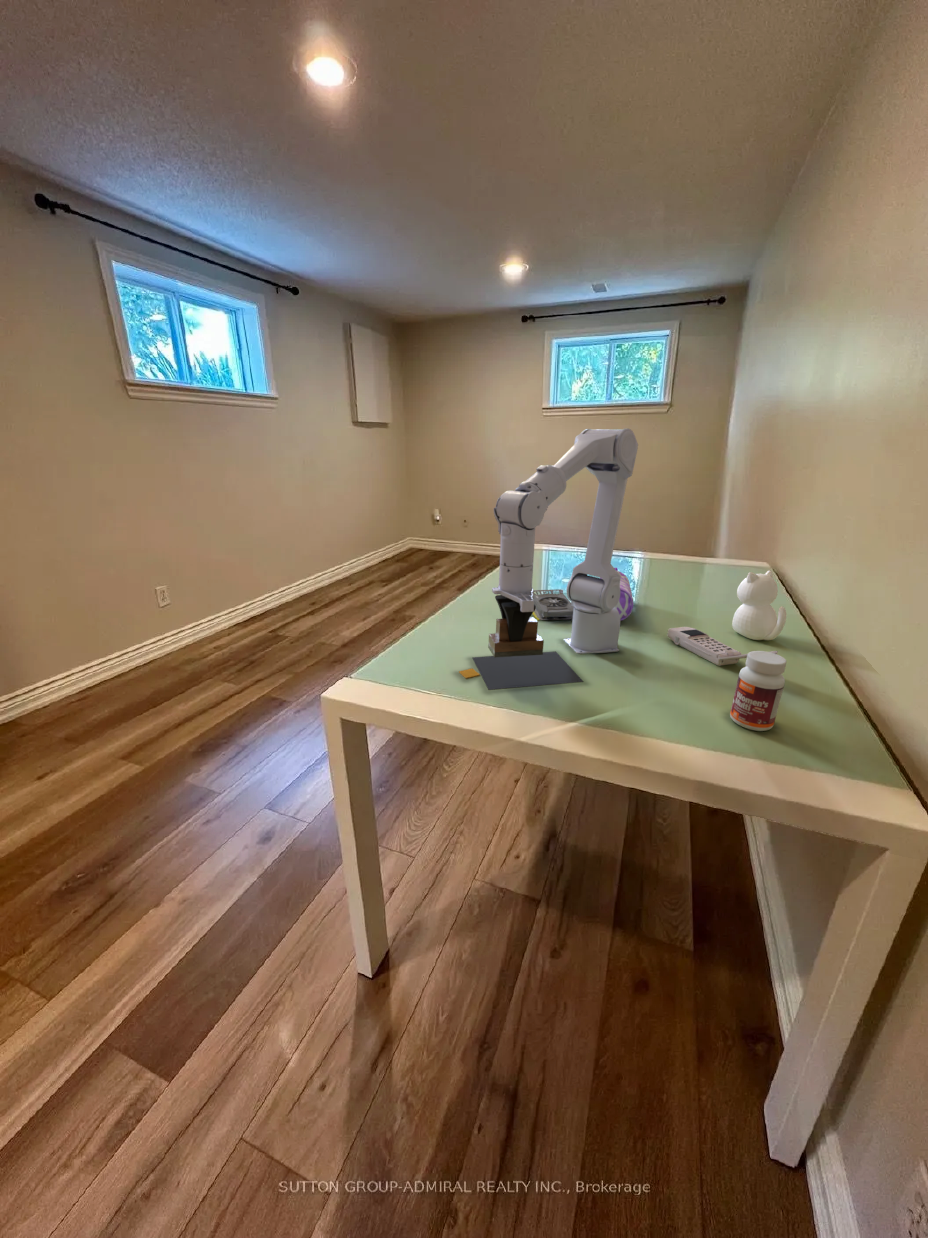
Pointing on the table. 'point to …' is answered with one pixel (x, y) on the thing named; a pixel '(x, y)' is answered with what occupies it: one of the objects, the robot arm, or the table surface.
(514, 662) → the mat
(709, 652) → the mobile phone
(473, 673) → the mustard square tile
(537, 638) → the brown stepped block
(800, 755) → the table surface
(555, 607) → the graphics card
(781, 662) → the pill bottle
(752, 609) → the cat figurine
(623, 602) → the pencil case
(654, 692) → the table surface
